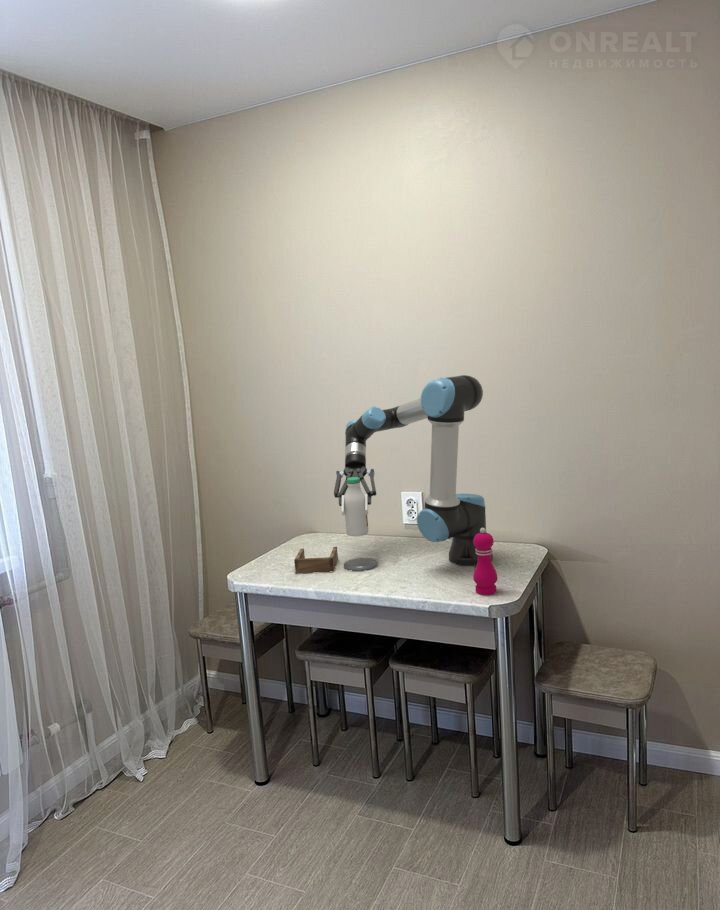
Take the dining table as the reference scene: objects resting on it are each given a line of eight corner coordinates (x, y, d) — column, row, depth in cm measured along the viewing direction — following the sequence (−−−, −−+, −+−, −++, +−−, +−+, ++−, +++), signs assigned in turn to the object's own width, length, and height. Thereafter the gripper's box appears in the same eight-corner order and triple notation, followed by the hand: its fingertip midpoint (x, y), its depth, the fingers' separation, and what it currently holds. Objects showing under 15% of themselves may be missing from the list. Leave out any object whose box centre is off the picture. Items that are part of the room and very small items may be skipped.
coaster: (383, 566, 245) (383, 563, 245) (352, 573, 240) (352, 570, 240) (368, 558, 256) (368, 555, 256) (338, 564, 251) (338, 562, 251)
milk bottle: (366, 536, 242) (361, 480, 239) (344, 537, 244) (339, 480, 240) (370, 530, 249) (366, 475, 246) (349, 531, 251) (344, 476, 248)
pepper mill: (471, 595, 212) (468, 530, 209) (476, 586, 218) (473, 524, 215) (495, 596, 209) (492, 531, 206) (500, 588, 216) (497, 524, 213)
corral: (333, 572, 243) (332, 558, 243) (295, 573, 245) (294, 560, 244) (338, 559, 257) (336, 546, 256) (301, 561, 258) (300, 548, 257)
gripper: (384, 462, 257) (385, 516, 244) (329, 465, 259) (327, 519, 246) (382, 450, 251) (383, 505, 238) (326, 453, 253) (323, 508, 240)
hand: (354, 512), depth 242 cm, fingers closed on milk bottle, 7 cm apart
